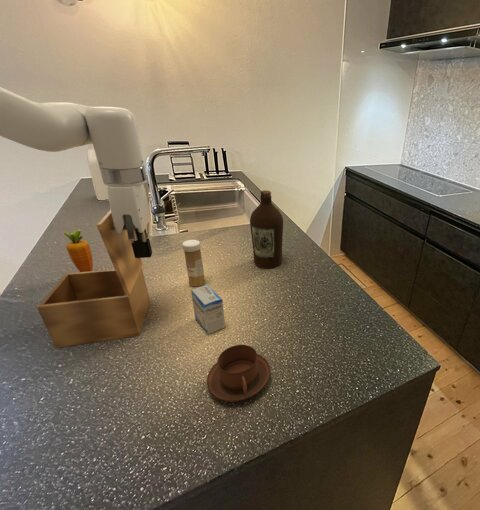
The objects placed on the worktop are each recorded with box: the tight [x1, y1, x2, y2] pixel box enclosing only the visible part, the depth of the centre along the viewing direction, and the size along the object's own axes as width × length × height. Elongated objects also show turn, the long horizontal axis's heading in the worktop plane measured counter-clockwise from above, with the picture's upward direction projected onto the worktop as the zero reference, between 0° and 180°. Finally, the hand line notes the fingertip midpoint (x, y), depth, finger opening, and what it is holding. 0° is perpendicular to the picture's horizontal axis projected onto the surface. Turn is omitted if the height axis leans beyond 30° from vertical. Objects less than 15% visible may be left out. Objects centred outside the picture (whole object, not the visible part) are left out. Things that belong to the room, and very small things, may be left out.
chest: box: [36, 267, 151, 349], centre depth 71 cm, size 16×14×11 cm
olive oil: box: [249, 190, 284, 269], centre depth 101 cm, size 11×11×25 cm
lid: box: [96, 209, 144, 295], centre depth 68 cm, size 16×14×4 cm
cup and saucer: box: [206, 344, 271, 403], centre depth 60 cm, size 12×12×6 cm
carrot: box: [63, 229, 94, 272], centre depth 87 cm, size 5×5×15 cm
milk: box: [86, 144, 109, 201], centre depth 149 cm, size 12×12×26 cm
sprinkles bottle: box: [181, 239, 206, 287], centre depth 88 cm, size 5×5×14 cm
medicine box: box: [190, 284, 226, 335], centre depth 74 cm, size 8×4×9 cm, turn 44°
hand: (144, 255), depth 69 cm, fingers closed
